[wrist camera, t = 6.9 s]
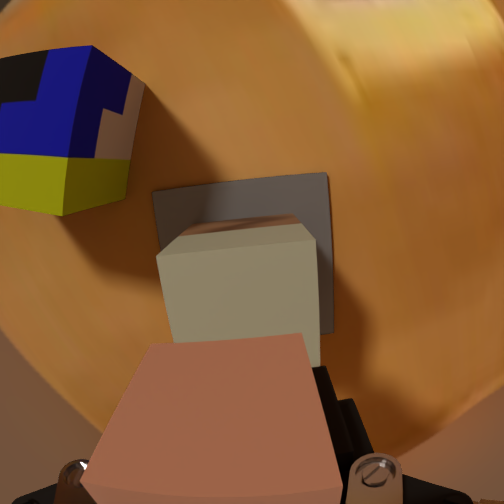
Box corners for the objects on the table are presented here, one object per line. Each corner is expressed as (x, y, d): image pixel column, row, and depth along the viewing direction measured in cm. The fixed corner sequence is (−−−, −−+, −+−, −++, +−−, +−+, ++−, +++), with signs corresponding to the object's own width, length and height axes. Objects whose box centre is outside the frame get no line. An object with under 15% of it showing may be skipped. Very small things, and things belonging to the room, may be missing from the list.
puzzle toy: (145, 83, 23) (92, 45, 14) (125, 199, 26) (62, 216, 16) (53, 84, 23) (-15, 62, 13) (36, 186, 25) (-37, 198, 16)
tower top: (301, 223, 21) (315, 239, 16) (308, 334, 22) (320, 374, 18) (178, 236, 21) (155, 256, 16) (197, 344, 23) (184, 385, 18)
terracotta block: (301, 332, 10) (342, 485, 4) (305, 436, 11) (325, 564, 5) (151, 343, 10) (79, 481, 4) (182, 443, 11) (155, 565, 6)
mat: (325, 172, 25) (326, 172, 25) (333, 330, 28) (333, 332, 28) (153, 191, 25) (151, 192, 25) (181, 344, 29) (180, 346, 28)
